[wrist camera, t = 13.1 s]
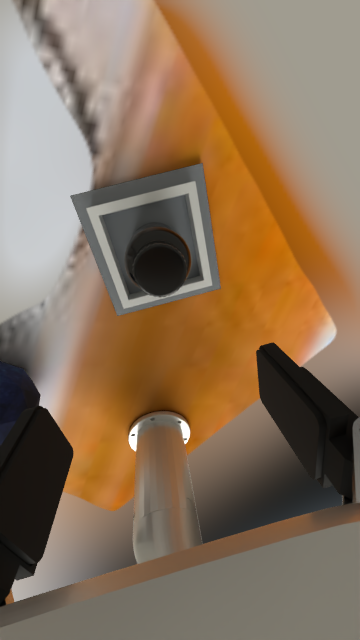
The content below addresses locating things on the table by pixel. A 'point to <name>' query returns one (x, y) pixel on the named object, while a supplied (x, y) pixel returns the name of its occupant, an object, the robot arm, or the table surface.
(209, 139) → the table surface
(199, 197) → the rimmed tray
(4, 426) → the decorative orb
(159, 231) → the supplement bottle
